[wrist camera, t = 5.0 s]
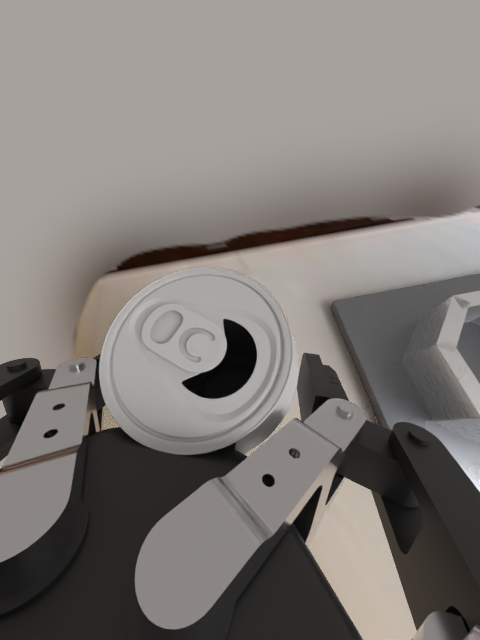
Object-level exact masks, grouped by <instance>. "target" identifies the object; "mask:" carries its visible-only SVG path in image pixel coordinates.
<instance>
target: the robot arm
mask: <svg viewBox="0 0 480 640" xmlns="http://www.w3.org/2000/svg"><path fill="white" fill-rule="evenodd" d="M100 355H101V354H99V355H98V356H96V357H94V358H88V357H83V358H76V359H72V360H69V361H66V362H64V363H62V364H60V365H59V366H58V367H57V369H45V370H41V366H40V361H39V360H38V359H34V358H23V359H17V360H13V361H9V362H6V363H4V364H1V365H0V401H1V400H2V401H3V404H4V407H5V410H6V413H7V415H6V416H4V417H3V418H1V419H0V461H1V460H2V459H3V458H5V457H6V456H7V455H8V456H7V458H6V461H5V463H4V465H3V467H2V468H1V469H0V640H363V639H362V637H361V636H360V634H359V632H358V631H357V629H356V627H355V626H354V624H353V622H352V621H351V619H350V617H349V616H348V614H347V612H346V611H345V609H344V607H343V606H342V604H341V602H340V601H339V599H338V597H337V596H336V594H335V592H334V591H333V589H332V587H331V586H330V584H329V582H328V580H327V579H326V577H325V575H324V574H323V572H322V570H321V569H320V567H319V565H318V564H317V562H316V560H315V559H314V557H313V555H312V554H311V552H310V550H309V549H308V546H309V544H310V542H311V540H312V539H313V537H314V535H315V533H316V531H317V529H318V526H319V524H320V522H321V520H322V518H323V516H324V514H325V512H326V511H327V509H328V507H329V506H330V504H331V502H332V501H333V499H334V498H335V496H336V494H337V493H338V491H339V490H340V488H341V486H342V485H343V483H344V481H345V480H346V478H348V479H350V480H352V481H354V482H356V483H358V484H360V485H362V486H364V487H366V488H368V489H370V490H371V491H372V494H373V497H374V500H375V503H376V506H377V509H378V513H379V516H380V519H381V522H382V525H383V528H384V531H385V534H386V537H387V540H388V543H389V546H390V549H391V553H392V556H393V559H394V562H395V565H396V568H397V571H398V574H399V577H400V580H401V583H402V586H403V590H404V593H405V596H406V599H407V602H408V605H409V608H410V611H411V614H412V617H413V620H414V623H415V627H416V630H417V632H416V634H415V635H414V636H413V638H412V639H411V640H480V491H479V490H478V489H477V488H476V486H475V485H474V484H473V482H472V481H471V480H470V478H469V477H468V476H467V474H466V473H465V472H464V471H463V469H462V468H461V467H460V465H459V464H458V463H457V461H456V460H455V459H454V457H453V456H452V455H451V454H450V452H449V451H448V450H447V448H446V447H445V446H444V444H443V443H442V442H441V441H440V440H439V439H438V438H437V437H436V436H435V435H433V434H432V433H431V432H429V431H427V430H426V429H424V428H422V427H420V426H418V425H415V424H412V423H408V422H397V423H395V424H394V426H393V428H392V430H389V429H386V428H384V427H381V426H378V425H376V424H373V423H371V422H369V421H367V420H366V416H365V413H364V412H363V411H362V410H361V409H360V408H359V407H358V406H357V405H355V404H354V403H352V402H350V401H349V400H348V398H347V396H346V393H345V391H344V389H343V387H342V385H341V383H340V380H339V378H338V376H337V374H336V372H335V371H334V370H333V369H332V368H331V367H330V366H327V365H323V364H322V362H321V359H320V356H319V355H317V354H309V353H303V356H302V361H301V366H300V372H299V377H298V384H297V392H298V399H299V406H300V414H301V420H299V419H298V418H294V419H293V420H291V421H290V422H289V423H288V424H287V425H285V426H284V427H283V428H282V429H281V430H279V431H278V432H277V433H276V434H275V435H273V436H272V437H271V438H270V439H269V440H267V441H266V442H265V443H264V444H263V445H262V446H260V447H259V448H258V449H257V450H256V451H254V452H253V453H252V454H251V455H250V456H248V457H247V456H246V455H244V454H243V453H241V452H239V451H237V450H235V449H236V442H235V443H233V444H231V445H229V446H227V447H225V448H222V449H219V450H215V451H212V452H208V453H203V454H195V455H177V454H170V453H166V452H161V451H157V450H154V449H151V448H148V447H146V446H144V445H142V444H141V443H139V442H137V441H136V440H134V439H133V438H131V437H130V436H129V435H128V434H127V433H126V432H124V431H123V430H122V428H121V427H118V428H110V429H106V430H103V425H104V409H103V407H104V406H105V405H106V404H105V402H104V399H103V396H102V392H101V387H100V380H99V361H100Z"/></svg>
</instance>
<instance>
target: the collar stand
mask: <svg viewBox="0 0 480 640" xmlns="http://www.w3.org/2000/svg"><path fill="white" fill-rule="evenodd" d="M330 308H331V310H332V312H333V315H334V317H335V319H336V322H337V324H338V327H339V329H340V331H341V334H342V336H343V338H344V341H345V343H346V346H347V348H348V350H349V353H350V355H351V357H352V360H353V362H354V364H355V367H356V369H357V372H358V374H359V376H360V379H361V381H362V383H363V386H364V388H365V390H366V393H367V395H368V398H369V400H370V402H371V405H372V407H373V409H374V412H375V414H376V417H377V419H378V421H379V424H380V426H381V427H384V428H386V429H389V430H392V428H393V426H394V424H395V423H397V422H408V423H412V424H415V425H418V426H420V427H422V428H424V429H426V430H427V431H429V432H431V433H432V434H433V435H435V436H436V437H437V438H438V439H439V440H440V441H441V442H442V443H443V444H444V446H445V447H446V448H447V450H448V451H449V452H450V454H451V455H452V456H453V457H454V459H455V460H456V461H457V463H458V464H459V465H460V467H461V468H462V469H463V471H464V472H465V473H466V474H467V476H468V477H469V478H470V480H471V481H472V482H473V484H474V485H475V486H476V488H477V489H478V490H479V491H480V274H476V275H471V276H466V277H461V278H455V279H450V280H445V281H439V282H434V283H429V284H423V285H418V286H413V287H407V288H402V289H397V290H391V291H386V292H381V293H375V294H370V295H365V296H359V297H354V298H349V299H343V300H338V301H334V302H333V303H332V305H331V307H330Z"/></svg>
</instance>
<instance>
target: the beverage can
mask: <svg viewBox="0 0 480 640" xmlns="http://www.w3.org/2000/svg"><path fill="white" fill-rule="evenodd" d="M298 375H299V355H298V349H297V344H296V340H295V337H294V334H293V332H292V329H291V327H290V325H289V322H288V320H287V317H286V315H285V313H284V311H283V309H282V308H281V306H280V304H279V303H278V301H277V300H276V299H275V298H274V296H273V295H272V294H271V293H270V292H269V291H268V290H267V289H266V288H265V287H263V286H262V285H261V284H259V283H258V282H257V281H255V280H253V279H252V278H250V277H248V276H246V275H244V274H241V273H238V272H235V271H232V270H228V269H223V268H215V267H198V268H190V269H185V270H181V271H177V272H174V273H171V274H168V275H166V276H164V277H161V278H159V279H157V280H155V281H154V282H152V283H150V284H149V285H147V286H146V287H144V288H143V289H141V290H140V291H139V292H138V293H136V294H135V295H134V296H133V297H132V298H131V299H130V300H129V301H128V302H127V303H126V304H125V305H124V306H123V308H122V309H121V310H120V312H119V313H118V314H117V316H116V317H115V319H114V320H113V322H112V324H111V326H110V328H109V330H108V332H107V334H106V337H105V340H104V343H103V346H102V350H101V355H100V361H99V380H100V387H101V392H102V396H103V399H104V402H105V404H106V406H107V408H108V410H109V412H110V414H111V416H112V417H113V419H114V420H115V421H116V423H117V424H118V425H119V426H120V427H121V428H122V430H123V431H124V432H126V433H127V434H128V435H129V436H130V437H131V438H133V439H134V440H136V441H137V442H139V443H141V444H142V445H144V446H146V447H148V448H151V449H154V450H157V451H161V452H166V453H170V454H177V455H195V454H203V453H208V452H212V451H215V450H219V449H222V448H225V447H227V446H229V445H231V444H233V443H235V442H236V449H235V450H237V451H239V452H241V453H243V454H245V453H247V452H248V451H250V450H251V449H253V448H254V447H256V446H257V445H258V444H260V443H261V442H263V441H264V440H265V439H266V438H267V437H268V436H269V435H270V434H271V433H272V432H273V431H274V430H275V428H276V427H277V426H278V425H279V423H280V422H281V421H282V419H283V418H284V416H285V414H286V412H287V411H288V409H289V407H290V405H291V402H292V399H293V397H294V394H295V390H296V387H297V382H298Z"/></svg>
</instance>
